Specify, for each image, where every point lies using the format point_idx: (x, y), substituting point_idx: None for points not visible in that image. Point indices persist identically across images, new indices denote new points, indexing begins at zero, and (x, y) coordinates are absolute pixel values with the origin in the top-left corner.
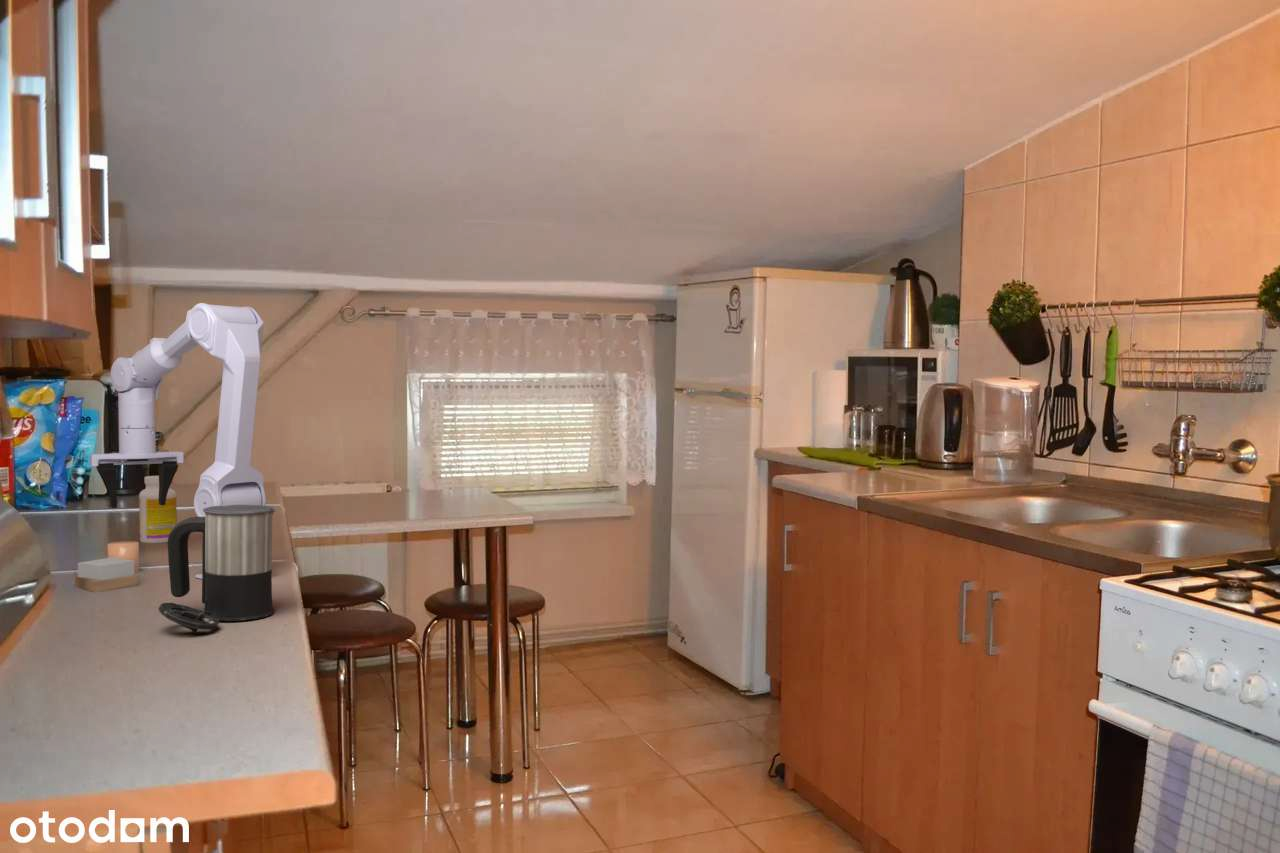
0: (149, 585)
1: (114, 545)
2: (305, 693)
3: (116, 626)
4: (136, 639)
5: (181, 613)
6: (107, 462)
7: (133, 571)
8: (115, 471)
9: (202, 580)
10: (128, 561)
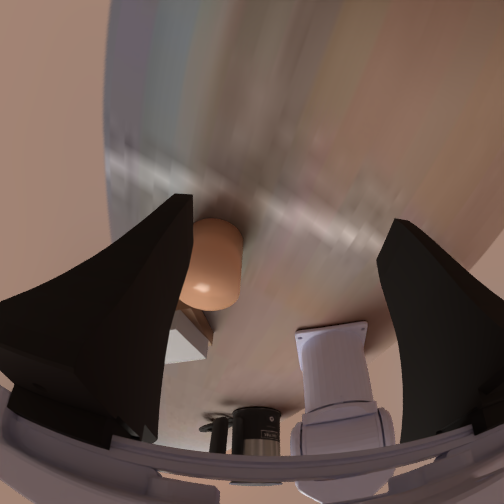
0: (228, 335)
1: (184, 302)
2: (230, 448)
3: (177, 403)
4: (187, 416)
5: (210, 431)
6: (82, 451)
7: (207, 344)
8: (151, 430)
9: (232, 435)
10: (198, 359)
